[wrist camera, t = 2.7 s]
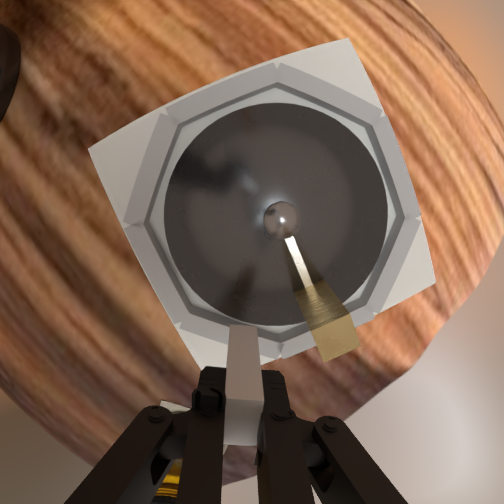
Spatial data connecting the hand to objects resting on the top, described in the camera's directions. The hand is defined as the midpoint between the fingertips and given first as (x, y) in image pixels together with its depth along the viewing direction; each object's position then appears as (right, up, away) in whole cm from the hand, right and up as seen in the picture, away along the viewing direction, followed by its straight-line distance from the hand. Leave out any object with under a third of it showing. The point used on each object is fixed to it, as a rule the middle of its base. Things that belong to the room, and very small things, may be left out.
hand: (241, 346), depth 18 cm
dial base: (+2, +8, +7) cm, 11 cm away
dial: (+3, +8, +5) cm, 10 cm away
